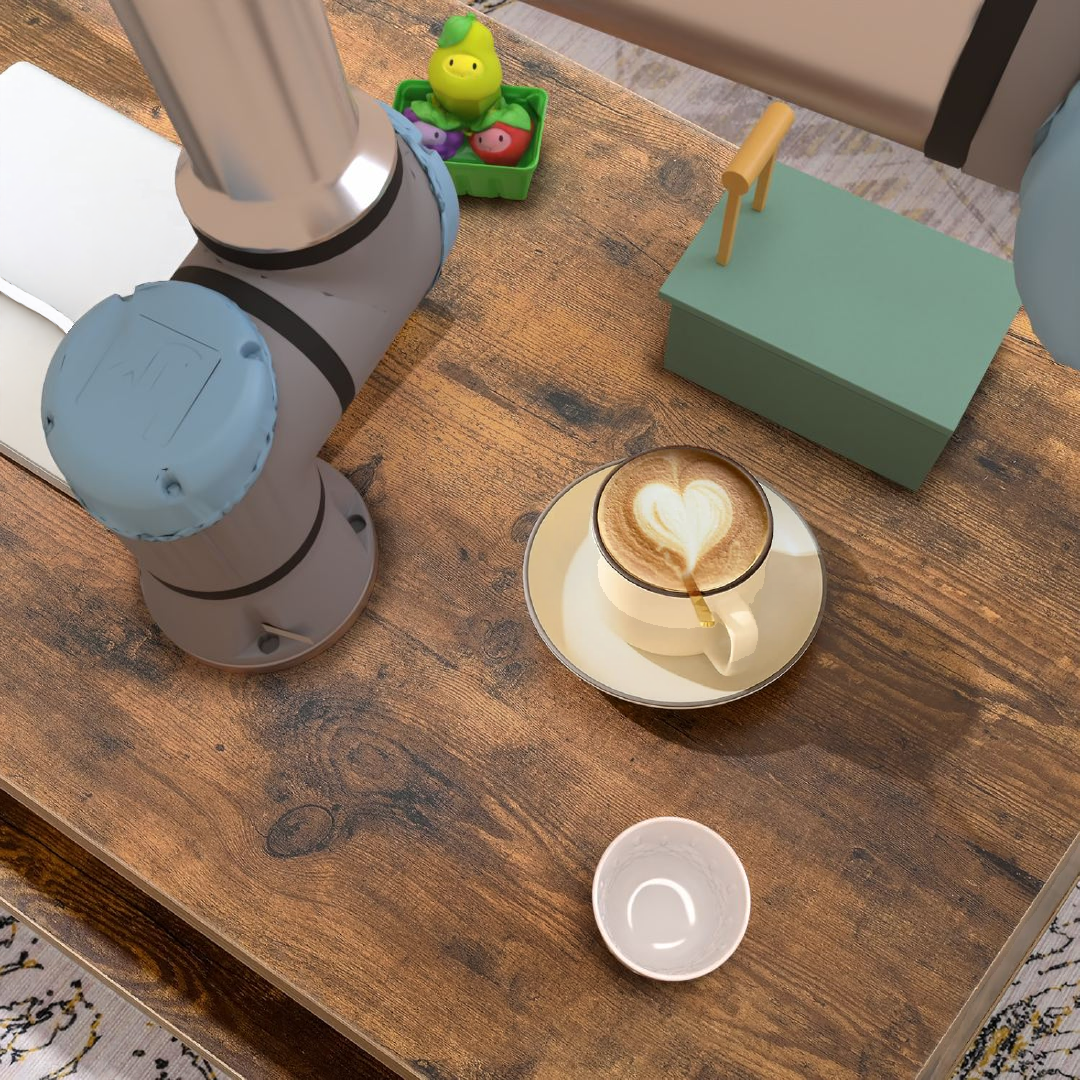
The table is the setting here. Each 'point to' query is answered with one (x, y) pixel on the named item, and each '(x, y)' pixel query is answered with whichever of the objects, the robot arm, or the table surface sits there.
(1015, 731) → the table surface
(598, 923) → the white cup
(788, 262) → the lid
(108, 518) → the robot arm
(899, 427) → the chest
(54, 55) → the table surface
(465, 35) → the fruit basket
